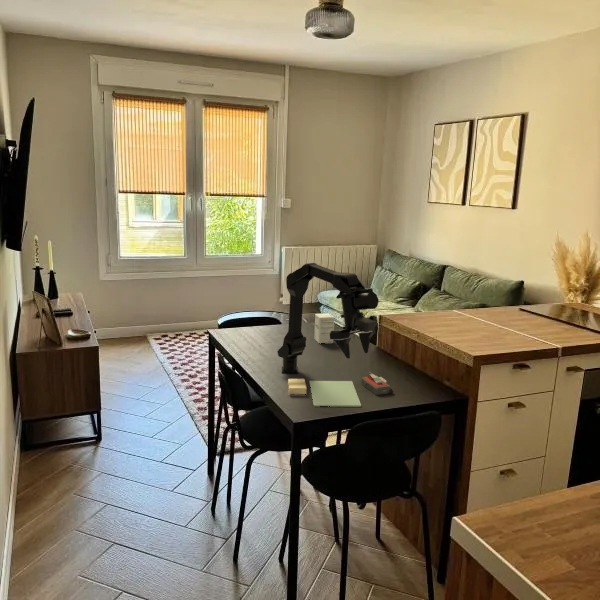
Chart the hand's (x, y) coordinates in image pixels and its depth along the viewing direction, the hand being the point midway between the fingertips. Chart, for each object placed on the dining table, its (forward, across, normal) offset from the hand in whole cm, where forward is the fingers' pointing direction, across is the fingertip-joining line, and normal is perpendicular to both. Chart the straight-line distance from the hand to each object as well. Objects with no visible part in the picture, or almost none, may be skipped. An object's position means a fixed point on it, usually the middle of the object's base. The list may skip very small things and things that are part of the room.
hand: (357, 355), depth 183 cm
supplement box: (+2, +39, +56) cm, 69 cm away
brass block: (+11, -11, +21) cm, 26 cm away
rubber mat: (+13, -3, +11) cm, 17 cm away
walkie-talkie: (+15, +15, +8) cm, 22 cm away
